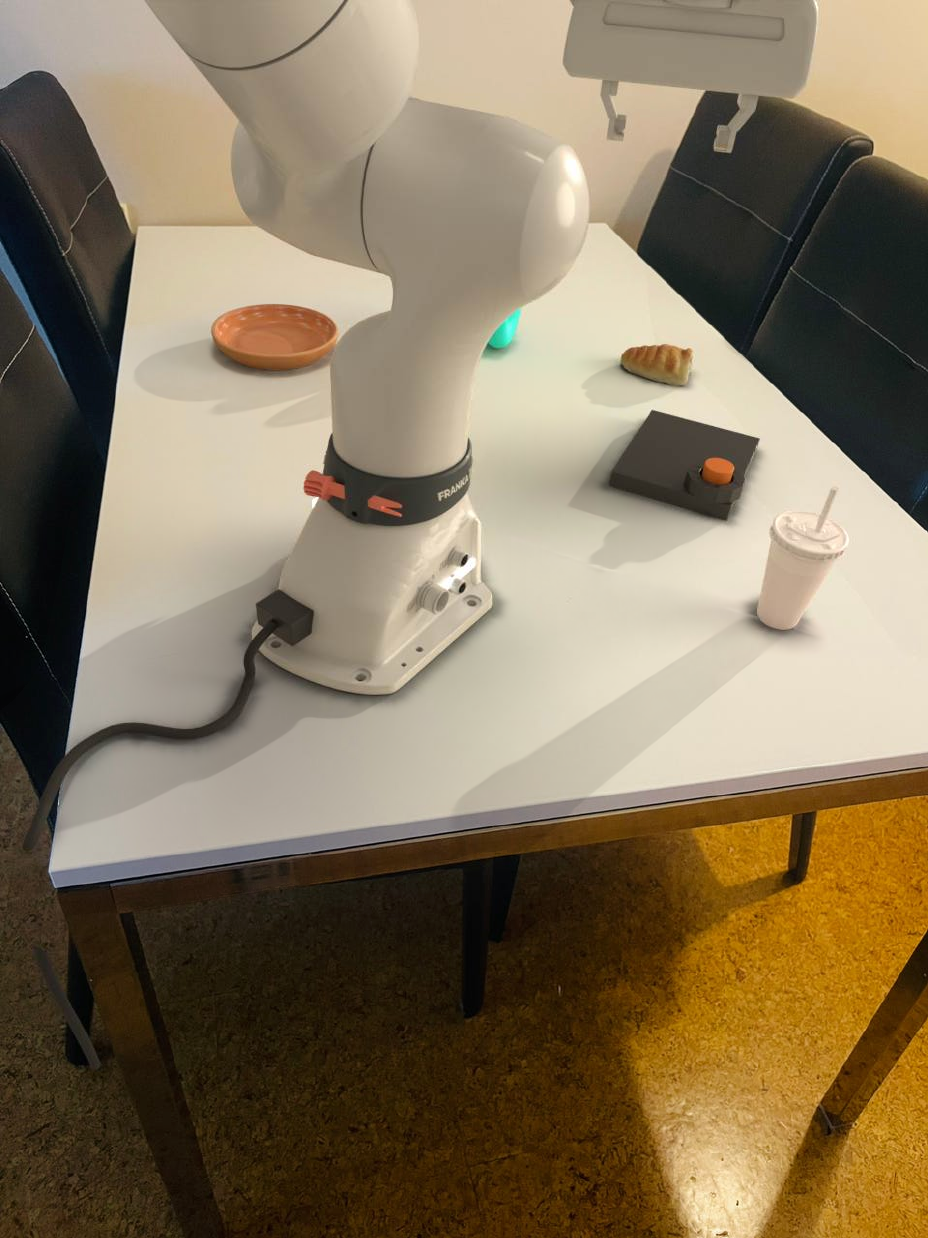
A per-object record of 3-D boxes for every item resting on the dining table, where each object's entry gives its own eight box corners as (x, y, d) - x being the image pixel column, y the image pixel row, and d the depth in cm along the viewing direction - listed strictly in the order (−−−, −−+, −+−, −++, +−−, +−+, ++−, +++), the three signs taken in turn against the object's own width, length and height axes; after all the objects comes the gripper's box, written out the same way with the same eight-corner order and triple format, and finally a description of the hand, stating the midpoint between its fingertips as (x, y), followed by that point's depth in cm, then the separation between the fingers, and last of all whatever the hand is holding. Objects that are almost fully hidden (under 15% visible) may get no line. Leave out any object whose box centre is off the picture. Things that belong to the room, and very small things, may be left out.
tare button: (726, 488, 92) (730, 475, 91) (698, 480, 92) (702, 467, 91) (733, 475, 94) (736, 462, 93) (705, 467, 95) (708, 454, 94)
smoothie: (815, 645, 79) (873, 515, 70) (742, 632, 80) (790, 502, 70) (809, 600, 84) (862, 473, 74) (740, 588, 84) (785, 461, 75)
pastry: (615, 376, 117) (621, 348, 114) (623, 355, 122) (628, 328, 119) (687, 389, 115) (694, 361, 112) (691, 368, 120) (698, 341, 117)
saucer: (349, 330, 122) (348, 309, 120) (323, 383, 110) (322, 360, 108) (234, 318, 122) (232, 297, 120) (196, 370, 110) (193, 347, 108)
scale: (729, 524, 92) (738, 496, 90) (607, 488, 96) (612, 460, 94) (759, 453, 104) (768, 426, 101) (648, 423, 107) (654, 397, 105)
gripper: (570, -60, 67) (548, 141, 77) (844, -36, 66) (788, 166, 75) (575, -66, 72) (553, 123, 81) (830, -44, 71) (779, 147, 80)
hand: (668, 144), depth 78 cm, fingers open, 8 cm apart
